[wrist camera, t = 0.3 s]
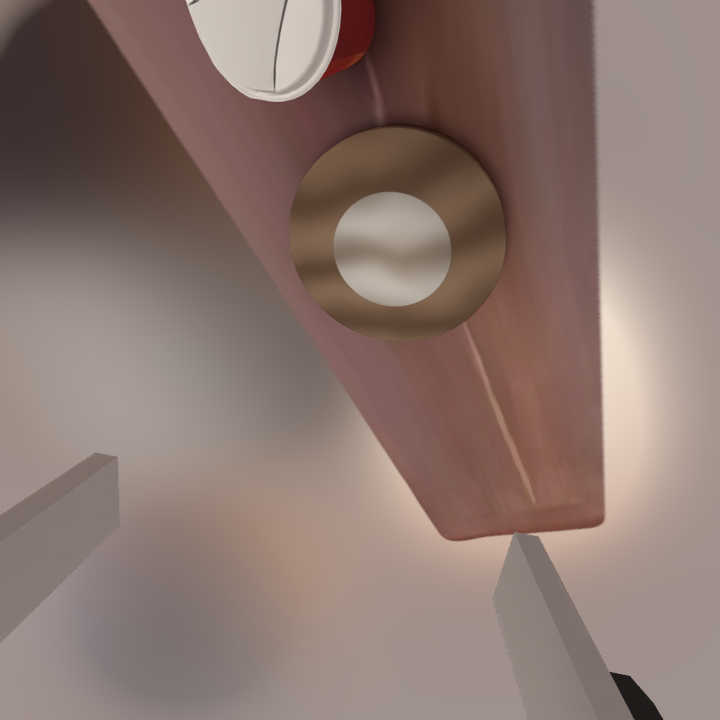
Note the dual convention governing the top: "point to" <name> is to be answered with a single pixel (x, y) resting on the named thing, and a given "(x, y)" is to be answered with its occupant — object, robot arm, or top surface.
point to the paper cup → (282, 41)
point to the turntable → (398, 233)
